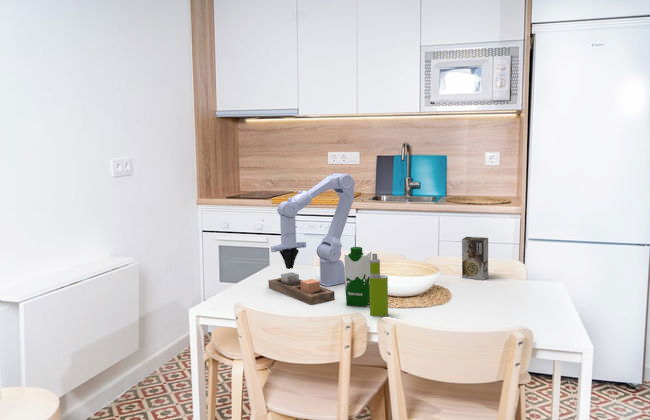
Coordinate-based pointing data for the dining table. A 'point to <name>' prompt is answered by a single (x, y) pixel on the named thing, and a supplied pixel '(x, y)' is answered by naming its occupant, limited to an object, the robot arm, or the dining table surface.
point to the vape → (378, 289)
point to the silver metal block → (290, 278)
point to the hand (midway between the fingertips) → (289, 268)
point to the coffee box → (475, 258)
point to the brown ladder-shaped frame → (302, 292)
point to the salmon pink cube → (310, 285)
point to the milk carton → (357, 277)
